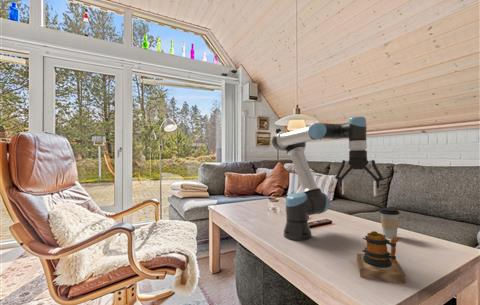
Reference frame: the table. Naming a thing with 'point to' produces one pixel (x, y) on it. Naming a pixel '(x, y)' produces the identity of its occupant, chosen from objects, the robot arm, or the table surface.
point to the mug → (379, 250)
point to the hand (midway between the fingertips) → (358, 194)
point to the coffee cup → (389, 221)
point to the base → (380, 271)
